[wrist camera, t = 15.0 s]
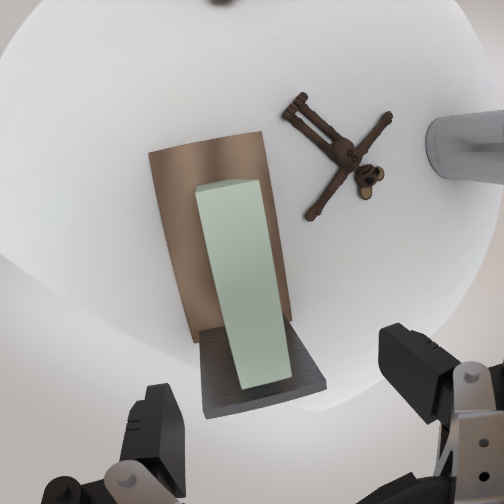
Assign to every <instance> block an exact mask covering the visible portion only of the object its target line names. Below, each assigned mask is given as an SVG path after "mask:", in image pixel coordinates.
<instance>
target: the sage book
mask: <svg viewBox="0 0 504 504" xmlns="http://www.w3.org/2000/svg"><path fill="white" fill-rule="evenodd" d="M195 195H196V200H197V204H198V209H199V214H200V219H201V223H202V228H203V233H204V237H205V242H206V246H207V251H208V255H209V260H210V264H211V268H212V273H213V277H214V281H215V286H216V290H217V294H218V298H219V302H220V307H221V311H222V315H223V319H224V323H225V327H226V331H227V335H228V339H229V343H230V347H231V351H232V354H233V358H234V362H235V366H236V370H237V373H238V377H239V381H240V385H241V388H242V389H246V388H251V387H255V386H259V385H263V384H267V383H271V382H275V381H278V380H282V379H286V378H289V377H292V373H291V367H290V360H289V354H288V347H287V341H286V335H285V329H284V322H283V316H282V310H281V304H280V298H279V292H278V286H277V280H276V274H275V268H274V262H273V256H272V250H271V245H270V239H269V233H268V227H267V222H266V216H265V211H264V205H263V199H262V194H261V188H260V183H259V180H243V179H228V180H223V181H218V182H214V183H209V184H204V185H199V186H197V188H196V192H195Z"/></svg>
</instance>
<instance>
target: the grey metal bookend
mask: <svg viewBox="0 0 504 504" xmlns="http://www.w3.org/2000/svg"><path fill="white" fill-rule="evenodd" d="M282 316H283V322H284V329H285V335H286V341H287V347H288V354H289V360H290V367H291V373H292V377H289V378H286V379H282V380H278V381H275V382H271V383H267V384H263V385H259V386H255V387H251V388H246V389H242V388H241V385H240V381H239V377H238V373H237V370H236V366H235V362H234V358H233V354H232V351H231V347H230V343H229V339H228V335H227V331H226V327H225V326H221V327H216V328H211V329H207V330H202V331H199V344H200V368H201V386H202V387H201V388H202V405H203V412H204V415H205V418H206V419H211V418H216V417H221V416H227V415H232V414H236V413H241V412H245V411H250V410H254V409H258V408H263V407H266V406H271V405H274V404H278V403H282V402H286V401H289V400H293V399H297V398H300V397H303V396H307V395H310V394H313V393H317V392H320V391H323V390H326V389H327V386H326V379H325V378H324V376H323V375H322V373H321V372H320V370H319V368H318V367H317V365H316V364H315V362H314V361H313V359H312V357H311V356H310V354H309V353H308V351H307V350H306V348H305V346H304V345H303V343H302V342H301V340H300V339H299V337H298V335H297V334H296V332H295V331H294V329H293V327H292V326H291V324H290V323H289V321H288V320H287V318H286V316H285V315H284V313H283V312H282Z"/></svg>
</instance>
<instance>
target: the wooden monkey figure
mask: <svg viewBox="0 0 504 504" xmlns="http://www.w3.org/2000/svg"><path fill="white" fill-rule="evenodd" d="M307 99H308V95H307V94H306V93H304V92H301V93H300V94H299V95H298V96H297V97H296V99H295V100H294V101H293V103H292V104H290V105H289V106H288V107H287V108H286V110H285V111H284V112H283V114H282V117H283V118H284V119H286V120H288V121H289V122H291V123H292V125H293V126H294V127H295V128H297V129H299V130H300V131H302V132H303V133H304V134H305V135H306V136H308V137H309V138H310V139H311V140H312V141H313V142H315V143H316V144H317V145H318V146H319V147H320V148H321V149H323V150H324V151H325V152H326V153H327V154H328V155H329V157H330V158H331V159H332V160H333V161H335V162H336V163H338V164H339V165H340V166H341V167H342V168H341V169H340V170H339V172H338V173H337V174H336V175H335V177H334V179H333V180H332V182H331V183H330V185H329V186H328V188H327V189H326V190H325V192H324V193H323V195H322V196H321V197H320V199H319V200H318V201H317V202H316V203H315V204H314V205H313V206H312V207H311V208H310V209H309V210H308V212H307V213H306V215H305V219H306V220H307V221H310V222H311V221H313V220H314V219H315V218H316V217H317V215H318V216H319V215H320V214H321V212H322V209H323V208H324V206H325V205H326V203H327V202H328V200H329V199H330V198H331V197H332V195H333V194H334V193H335V191H336V190H337V189H338V188H339V186H340V185H342V184H343V182H344V180H346V178H347V176H348V175H349V174H350V173H351V172H353V171H354V170H355V169H356V170H357V173H356V180H357V182H358V184H359V185H360V186H361V188H360V195H361V197H362V198H363V199H364V200H368V199H370V198H371V196H372V186H373V185H374V184H375V183H376V182H377V181H381V180H382V179H383V178H384V171H383V169H382V168H381V167H379V166H376V167H373V166H372V165H371V164H367V165H363V166H361V167H360V166H359V164H360V162H361V160H362V157H363V155H364V154H366V153H367V152H368V149H369V148H370V146H371V145H372V144H373V142H374V141H375V140H376V138H377V137H378V136H379V135H380V134H381V132H382V131H383V130H384V128H385V127H386V126H388V125H389V124H390V123H391V122H392V120H391V119H392V118H393V115H392V113H391V112H390V111H387V112H385V113H384V115H383V116H382V118H381V120H380V122H379V123H378V125H377V126H376V127H375V128H374V129H373V131H372V132H371V133H370V134H369V135H368V136H367V137H366V138H365V139H364V141H363V142H362V143H361V144H360V145H359V146H358V148H357V149H355V147H354V145H353V143H352V142H351V141H350V140H348V139H346V138H344V137H342V136H341V135H340V134H339V133H337V132H336V131H335V130H334V129H333V127H332V126H330V125H328V124H327V123H326V122H325V121H324V120H323V119H321V118H320V117H319V116H318V115H317V114H316V112H314V111H312V110H311V109H310V108H309V107H308V105H307V104H305V102H306V100H307ZM297 111H300V112H301V113H302V114H304V115H305V116H306V117H307V118H309V119H310V120H311V121H312V122H313V123H314V124H316V125H317V126H318V127H319V128H320V129H322V130H323V131H324V132H325V133H326V134H327V135H328V136H330V137H331V138H332V139H333V140H334V141H335V142H334V143H333V144H332V145H329V144H328V143H327V142H326V141H325V140H324V139H323V138H321V137H320V136H319V135H318V134H317V133H316V132H315V131H313V130H312V129H311V128H310V127H309V126H308V125H306V124H305V123H304V122H303V120H302V119H301V118H298V117H297V116H296V115H295V113H296V112H297Z"/></svg>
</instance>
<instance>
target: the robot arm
mask: <svg viewBox="0 0 504 504" xmlns="http://www.w3.org/2000/svg"><path fill="white" fill-rule="evenodd" d="M426 149H427V154H428V158H429V160H430V163H431V165H432V167H433V168H434V170H435V171H436V172H437V173H438V174H439V175H440V176H441V177H443V178H446V179H454V180H465V181H475V182H485V183H494V184H503V185H504V110H499V111H489V112H481V113H472V114H465V115H457V116H450V117H443V118H439V119H436V120H435V121H433V123H432V124H431V125H430V127H429V129H428V132H427V137H426ZM378 364H379V368H380V371H381V373H382V375H383V376H384V377H385V378H386V379H387V380H388V381H389V383H390V384H391V385H392V386H393V387H394V388H395V389H396V390H397V391H398V393H399V394H400V395H401V396H402V397H403V398H404V399H405V400H406V401H407V403H408V404H409V405H410V406H411V407H412V408H413V409H414V410H415V411H416V413H418V415H419V416H420V417H421V418H422V419H423V420H424V421H425V423H426V424H430V423H432V422H433V421H435V420H437V419H438V420H439V421H440V422H441V423H440V427H439V438H438V449H437V459H436V466H435V471H434V474H433V476H432V477H424V478H418V479H416V478H415V476H414V475H413V473H412V472H410V473H408V474H406V475H404V476H402V477H400V478H398V479H396V480H394V481H392V482H390V483H388V484H385V485H383V486H381V487H379V488H378V489H377V490H375V491H374V492H372V493H371V494H370V495H368V496H367V497H365V498H364V499H362V500H361V501H359V502H358V503H356V504H504V361H503V363H502V364H499V365H496V366H493V367H489V368H487V367H486V366H484V365H483V364H481V363H478V362H474V361H469V362H464V363H461V362H460V361H458V360H457V359H456V358H455V357H453V356H452V355H451V354H449V353H448V352H447V351H445V350H444V349H443V348H442V347H439V346H438V344H436V343H435V342H432V340H431V339H430V338H428V337H427V336H426V335H424V334H422V333H419V332H416V331H413V330H411V331H409V330H408V329H407V328H405V327H404V326H403V325H401V324H400V323H395V324H393V325H390V326H387V327H384V328H382V329H380V331H379V354H378ZM185 485H186V484H185V426H184V420H183V417H182V414H181V411H180V409H179V407H178V404H177V402H176V400H175V397H174V395H173V392H172V390H171V387H170V385H169V384H168V383H164V384H157V385H151V386H147V390H146V395H145V400H140V401H137V402H136V403H135V404H134V406H133V407H132V408H131V410H130V412H129V416H128V423H127V425H126V432H125V435H124V440H123V445H122V450H121V455H120V460H119V462H118V463H116V464H114V465H113V466H111V467H110V468H109V469H108V470H107V472H106V474H105V476H104V479H102V480H99V481H95V482H91V483H87V484H83V485H80V483H79V482H78V481H77V480H75V479H74V478H72V477H69V476H61V477H57V478H55V479H53V480H52V481H50V483H48V485H47V486H46V488H45V490H44V494H43V498H42V502H41V504H182V503H181V502H179V500H177V499H176V498H184V497H186V486H185ZM183 504H184V503H183Z"/></svg>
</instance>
